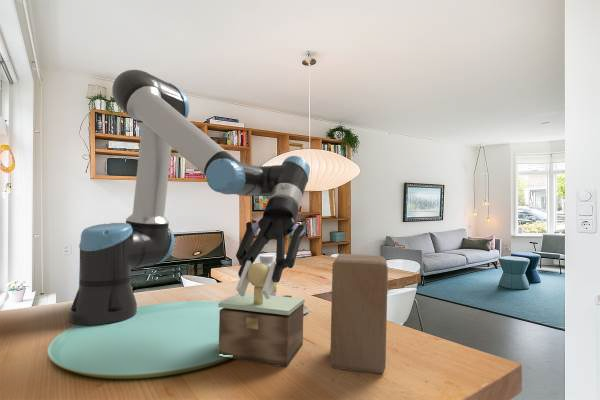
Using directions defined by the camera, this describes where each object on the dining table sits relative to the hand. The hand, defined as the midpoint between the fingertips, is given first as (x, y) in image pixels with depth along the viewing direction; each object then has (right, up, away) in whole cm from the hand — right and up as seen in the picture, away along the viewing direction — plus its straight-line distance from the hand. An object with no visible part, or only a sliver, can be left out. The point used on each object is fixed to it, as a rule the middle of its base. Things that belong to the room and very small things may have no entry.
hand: (252, 293), depth 68 cm
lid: (+1, -4, +5) cm, 7 cm away
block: (+20, -14, +2) cm, 24 cm away
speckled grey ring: (+5, -14, +32) cm, 35 cm away
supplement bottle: (-2, -13, +49) cm, 51 cm away
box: (+1, -13, +5) cm, 14 cm away
